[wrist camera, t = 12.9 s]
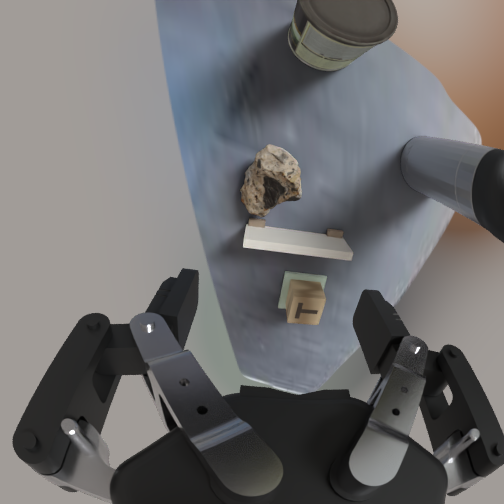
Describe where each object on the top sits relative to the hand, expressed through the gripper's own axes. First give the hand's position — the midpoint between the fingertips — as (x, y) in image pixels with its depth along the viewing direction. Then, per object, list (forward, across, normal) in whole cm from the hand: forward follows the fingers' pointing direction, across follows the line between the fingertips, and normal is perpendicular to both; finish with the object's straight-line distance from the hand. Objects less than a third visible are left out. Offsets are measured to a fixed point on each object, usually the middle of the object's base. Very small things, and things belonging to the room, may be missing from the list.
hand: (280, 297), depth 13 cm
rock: (+28, 0, -1) cm, 28 cm away
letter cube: (+28, -8, +17) cm, 33 cm away
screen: (+28, -5, +7) cm, 29 cm away
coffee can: (+28, -5, -23) cm, 37 cm away
